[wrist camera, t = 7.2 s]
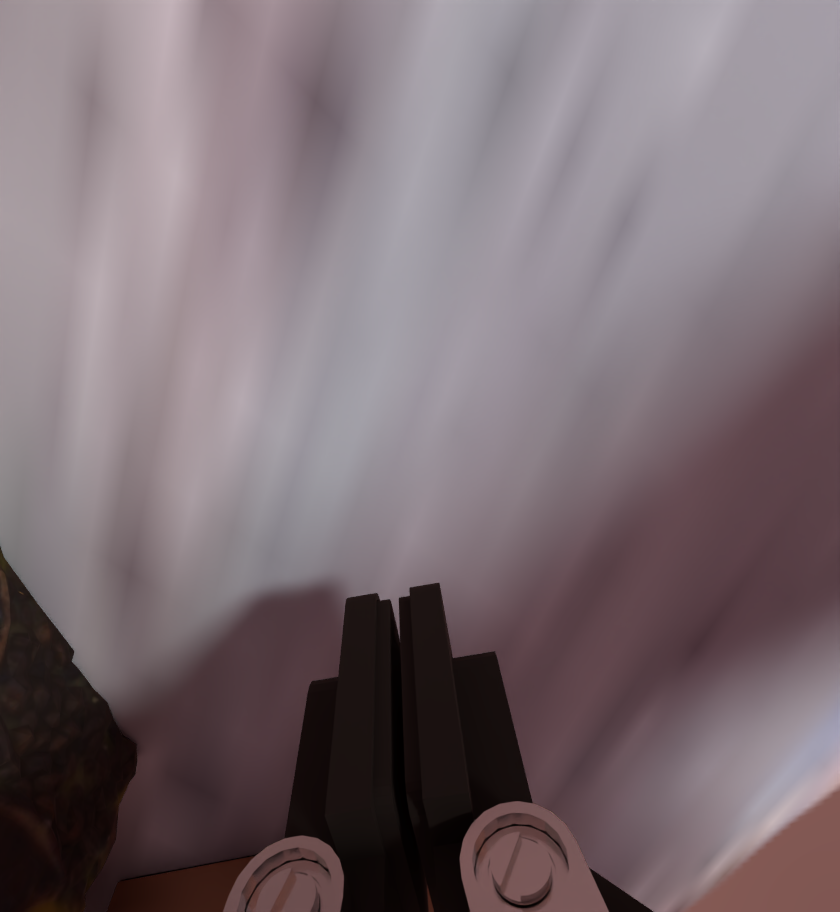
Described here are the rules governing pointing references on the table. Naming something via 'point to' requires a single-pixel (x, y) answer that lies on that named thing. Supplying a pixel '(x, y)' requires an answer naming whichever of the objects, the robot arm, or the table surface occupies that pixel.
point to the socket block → (183, 890)
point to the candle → (52, 763)
